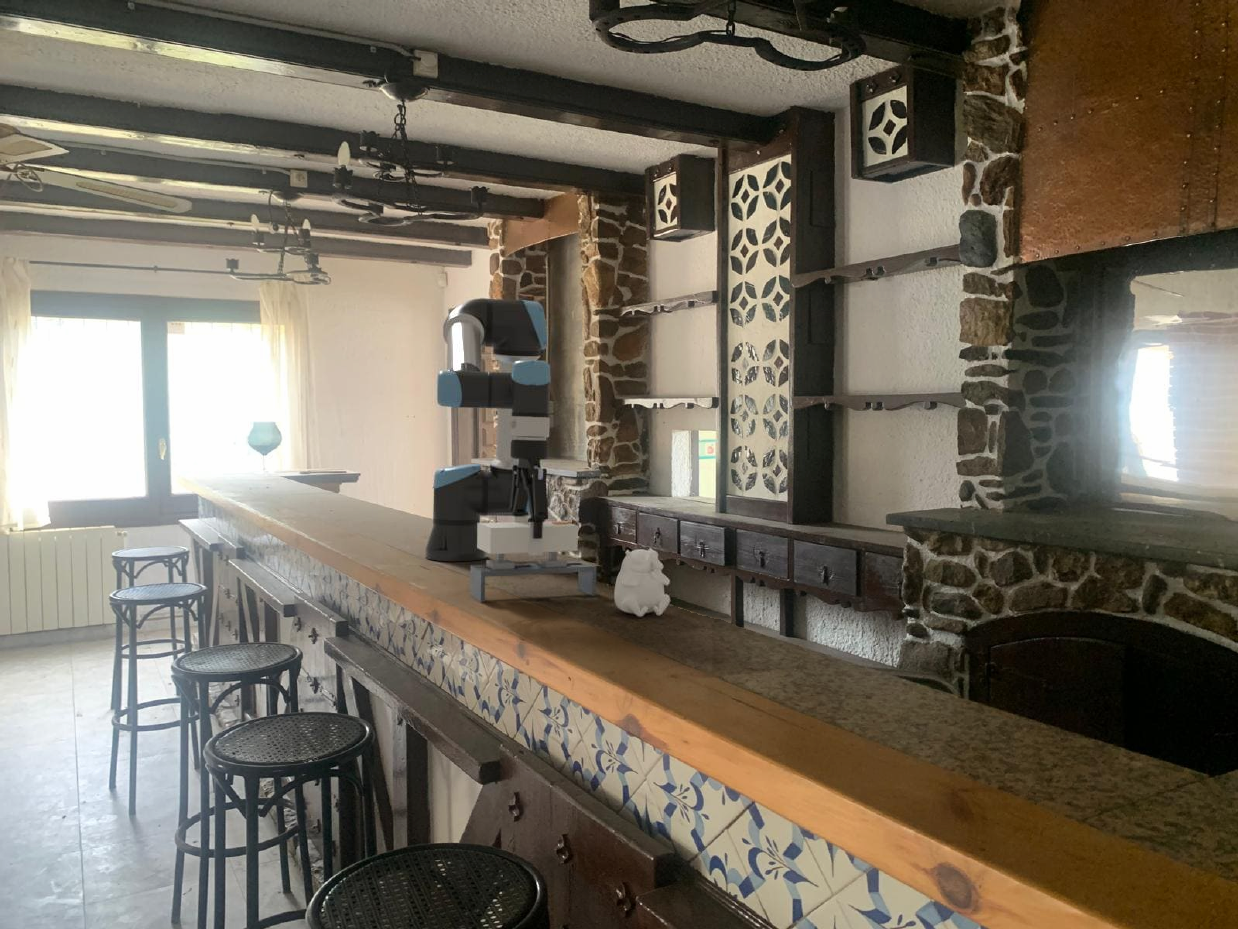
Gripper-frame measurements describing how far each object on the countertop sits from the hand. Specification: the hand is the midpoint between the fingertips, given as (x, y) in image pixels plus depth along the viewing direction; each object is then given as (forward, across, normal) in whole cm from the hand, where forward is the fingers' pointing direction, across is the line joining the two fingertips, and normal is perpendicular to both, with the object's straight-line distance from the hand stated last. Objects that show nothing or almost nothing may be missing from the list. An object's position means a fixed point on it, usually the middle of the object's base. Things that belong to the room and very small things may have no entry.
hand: (527, 551), depth 185 cm
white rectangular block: (+3, 0, 0) cm, 3 cm away
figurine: (+9, +22, +14) cm, 28 cm away
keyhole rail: (+9, 0, +2) cm, 9 cm away
